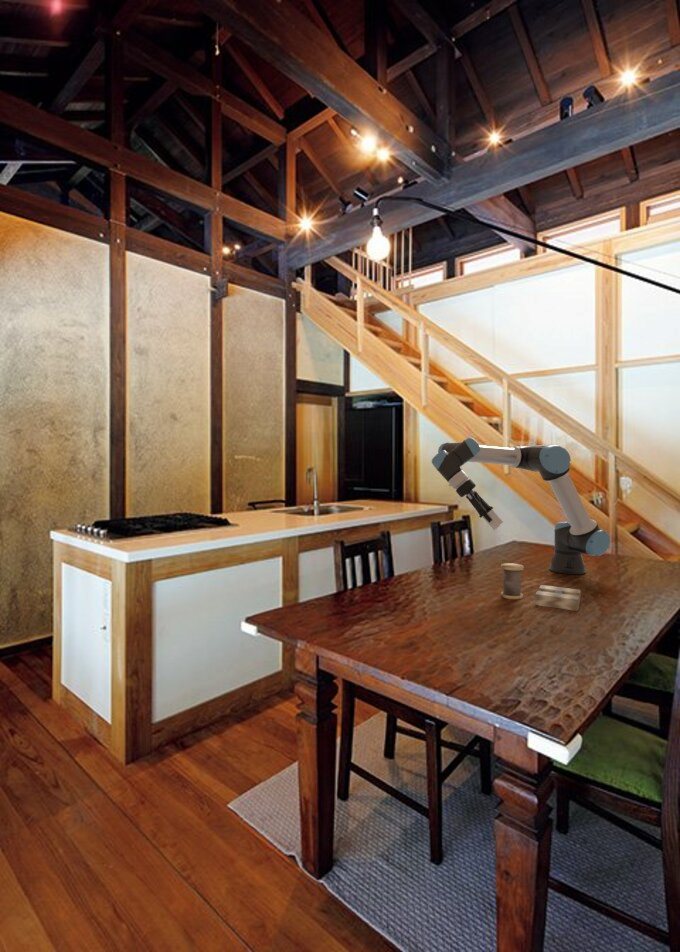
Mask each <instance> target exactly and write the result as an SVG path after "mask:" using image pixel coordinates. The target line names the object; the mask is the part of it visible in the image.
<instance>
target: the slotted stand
mask: <svg viewBox="0 0 680 952" xmlns="http://www.w3.org/2000/svg"><path fill="white" fill-rule="evenodd" d="M581 593H582V591H581V589H578V588H577V589H576V588H569V587H561V586H560V587H559V586H552V585H545V584H540V586H539V587H538V590H537V591H536V593H535V602H534V604H535V606H540V607H547V608H556V609H560V610H568V611H576V612H578V611H579V607H580V606H579V605H580V604H581V603H580V602H581Z"/></svg>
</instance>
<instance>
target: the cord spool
mask: <svg viewBox="0 0 680 952" xmlns="http://www.w3.org/2000/svg"><path fill="white" fill-rule="evenodd" d="M500 567H501V569H502V570H503V575H502V576H503V577H502V578H503V579H502V580H503V581H502V582H503V585H502V586H503V587H502V590H503V591H501V592H500V596H501V598H504V599H508V600H521V599H523V598H524V594H523V593H522V590H521V589H522V571H523V570H524V565H522V564H519V563H512V562H510V563H509V562H507V563H501V566H500Z"/></svg>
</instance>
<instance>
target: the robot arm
mask: <svg viewBox="0 0 680 952" xmlns="http://www.w3.org/2000/svg"><path fill="white" fill-rule="evenodd" d="M571 461H572V460H571V455H570V452H568V450H567V449H566V448H564V447H563V446H562V445H558V444H557V445H556V444H547V445H546V444H540V445H539V444H538V445H537V444H535V445H525V446H524V445H523V446H517V445H514V446H512V447H502V446H493V445H492V446H490V445H482V444H481V445H480V444H479V442H478V441H477V440H476V439H474V438H473V437H467V438H466V439H463V441H461V442H445V443H442V444H440V446H439V447H438V451H437V454H435V455H434V456H433V457H432V459H431V464H432V466H433V467H434V468H435V469H436V471H437V472H438V473H439V474H440V475H441V476H442V477H443V478H444V480H446V482H447V483H448V486H449V487H452V489H453V490H455V492H456V494H457V495H458V496H459V497H460V498H463V497H466V499H467V500H468V501H469V503H470V504H471V505H472V507H473V508H474V509H475V510H476V512H477V513H478V515H479V516H478V517H479V518H480V519H481V518H483V519H484V520H485V522H486V523H487V524H488V525H489V526H490V527H491V529H492V530H493V531H495V530H497V529H498V528H499V527H501V524H503V523H504V521H503V519H501V518H500V517H499V515H498V514H497V513H496V512H495V511H494V510H493V509H494V507H493V506H490V505H489V504H488V503H487V502H486V501H485V500H484V498H482V497H481V495H479V493H478V492H477V491H476V490H474V489H475V488H476V483H475V482H474V481H473V480H472V479H469V478H470V476H468V474H467V473H466V472H465V471H464V470H463V468H462V466H463V465H465V464H466V463H469V462H470V463H480V464H481V463H482V464H492V465H493V464H494V465H506V466H510V467H511V468H514V469H515V468H516V469H521V470H527V471H530V472H538V473H539V474H540V476H541V479H542V481H544V482H547V483H548V484H549V485H550V488H551V490H552V491H553V494H554V495H555V498H556V500H557V502H558V504H559V505H560V507H561V510H562V511H563V514H564V516H565V518H566V519H567V521H558V522H556V523H555V526H554V547H553V548H554V549H553V550H554V553H553V556H552V559H551V561H550V563H549V569H550V571H552V572H555V573H559V574H565V575H583V574H585V573H586V568H587V567H586V565H585V562H584V558H583V555H582V554H585V555H588V556H594V557H600V556H602V555H604V554H605V553H607V551H608V550H609V548H610V547H609V546H610V544H611V536H610V534H609V532H607V531H605V530H604V529H601V528H600V526H599V524H598V522H597V520H595V519H592V518H591V516H590V514H589V512H588V510H587V509H586V507H585V504H584V503H583V501H582V498H581V496H580V495H579V493H578V490H577V489H576V488H577V487H576V485H575V484H574V482H573V481H572V479H571V477H570V471H571V467H570V466H571Z"/></svg>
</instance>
